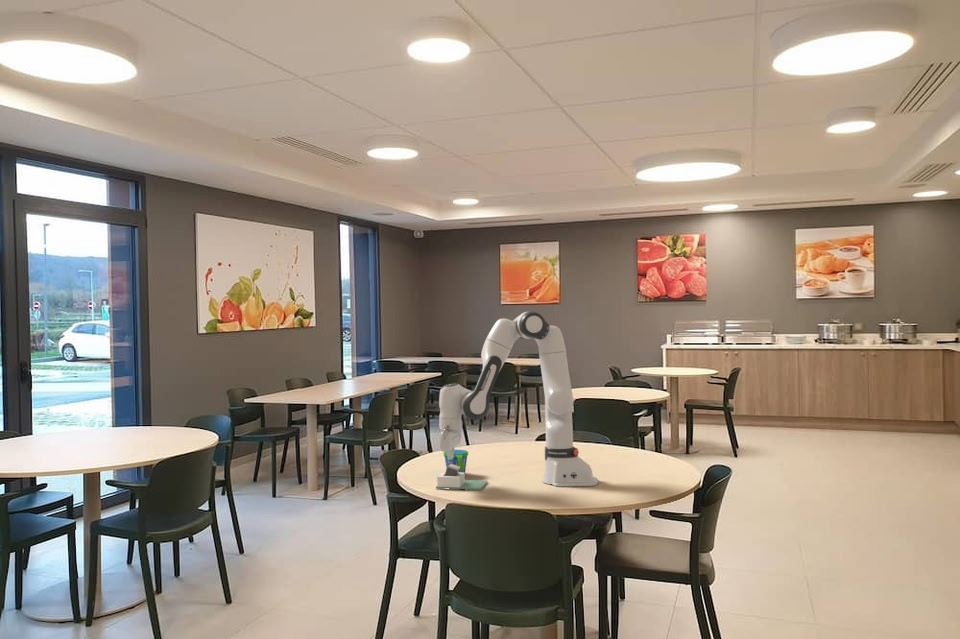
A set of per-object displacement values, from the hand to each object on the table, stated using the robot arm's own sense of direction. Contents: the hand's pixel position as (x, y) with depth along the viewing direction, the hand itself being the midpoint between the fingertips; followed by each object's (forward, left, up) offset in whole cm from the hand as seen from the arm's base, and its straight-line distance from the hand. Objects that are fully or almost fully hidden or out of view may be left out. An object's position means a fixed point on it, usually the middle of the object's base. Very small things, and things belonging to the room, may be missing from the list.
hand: (450, 459), depth 272 cm
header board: (-4, -2, -11) cm, 12 cm away
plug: (0, 0, -10) cm, 10 cm away
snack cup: (+3, -21, -11) cm, 24 cm away
